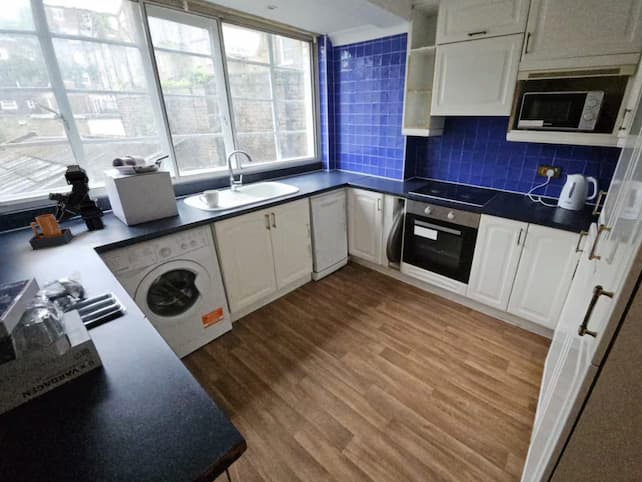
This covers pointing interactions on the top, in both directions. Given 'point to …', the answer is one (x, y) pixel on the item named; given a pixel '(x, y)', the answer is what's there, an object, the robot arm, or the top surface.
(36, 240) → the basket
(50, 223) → the tall orange mug
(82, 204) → the robot arm
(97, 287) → the top surface
